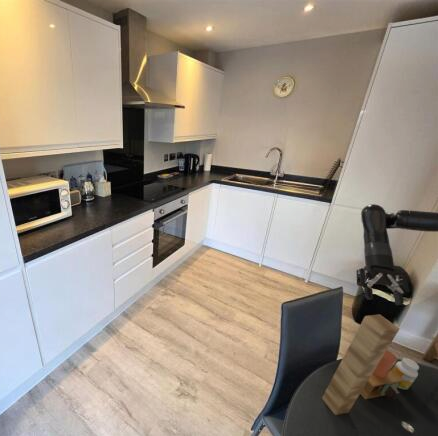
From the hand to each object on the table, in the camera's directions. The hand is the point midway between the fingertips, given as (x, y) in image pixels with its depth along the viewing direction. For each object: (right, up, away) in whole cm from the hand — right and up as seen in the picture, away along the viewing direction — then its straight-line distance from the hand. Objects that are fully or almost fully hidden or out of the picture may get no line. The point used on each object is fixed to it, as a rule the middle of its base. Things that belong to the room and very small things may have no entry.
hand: (384, 302), depth 83 cm
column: (-21, -31, -6) cm, 38 cm away
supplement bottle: (+8, -29, +3) cm, 31 cm away
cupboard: (-4, -29, +1) cm, 30 cm away
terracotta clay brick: (-4, -23, -2) cm, 23 cm away
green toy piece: (-1, -30, -3) cm, 30 cm away
